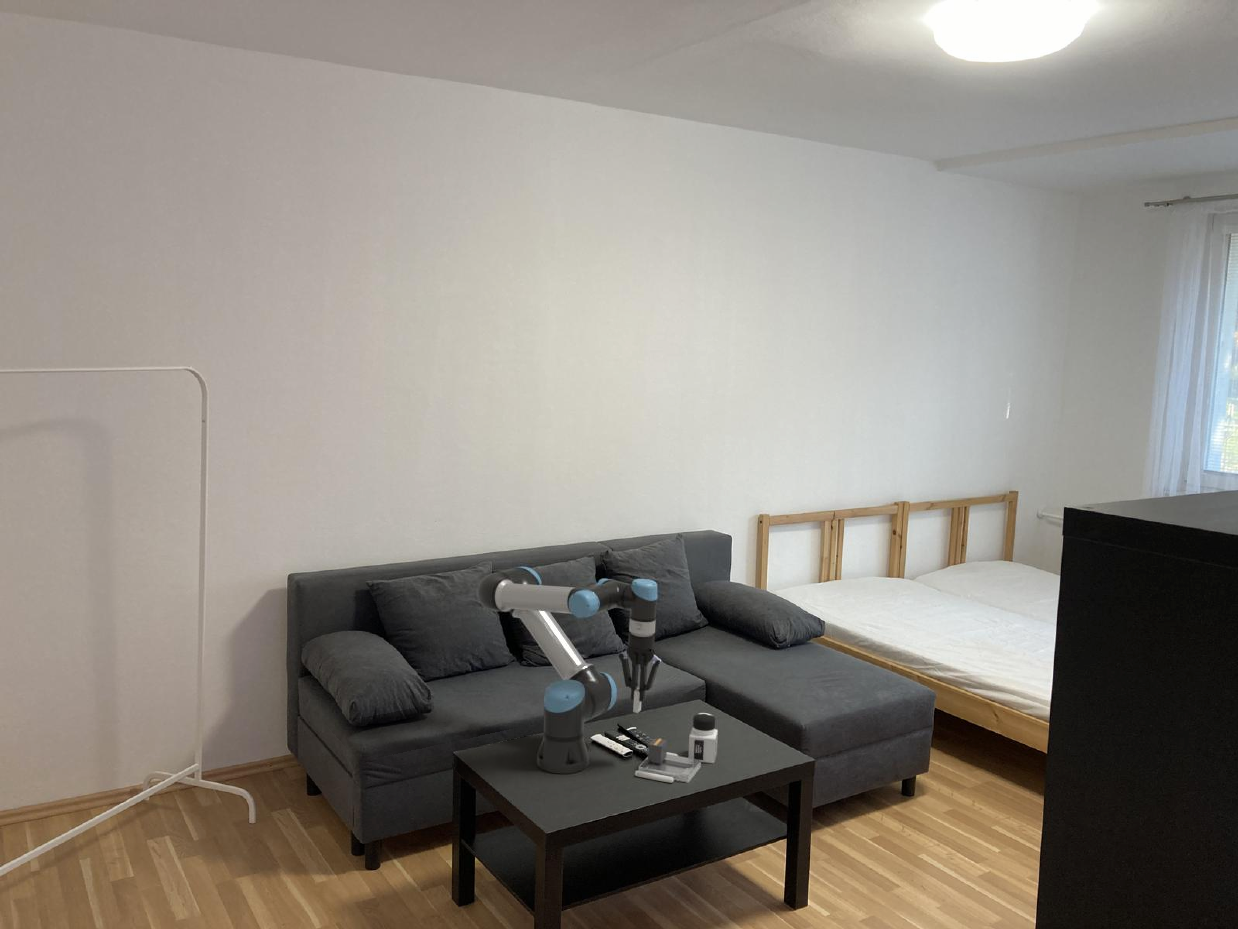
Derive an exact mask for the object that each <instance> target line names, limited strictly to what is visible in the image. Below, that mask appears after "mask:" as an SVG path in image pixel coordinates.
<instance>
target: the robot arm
mask: <svg viewBox="0 0 1238 929" xmlns="http://www.w3.org/2000/svg"><path fill="white" fill-rule="evenodd" d="M658 596H659V595H658V584H657V582H656V581H654V580H652V579H649V578H646V579H645V578H637V579H634V580H632V581H631V583H628V582H623V581H619V580H616V579H612V578H610V579H609V578H601V579H599V580H598V582H596V583H595V586H593V587H588V588H587V587H574V586H573V587H570V586H560V585H559V586H557V585H556V586H555V585H543V584H542V580H541V577H540V576H539V574H538V573H537V572H536V571H535V570H534V569H532V568H531V567H528V566H514V567H510V568H509V569H505V570H501V571H497V572H492V573H491V572H490V573H489V574H487V575H486V576H484V577H483V578H482V579H481V580H480V582H479V583H478V586H477V589H476V597H477V600H478V602H479V604H480V605H481V606H482V607H483V608H484V609H486V610H488V611H491V612H502V613H503V612H505V613H507V612H509V613H510V615H511V616H512V618H516V619H517V618H518V619H520V621H521V622H522V623H523V625H524V626H525V627H526V629H527V630H528V631H529V633H530V634H531V636H532V637H533V639H534V640H535V642H536V643H537V645H538V646H539V647H540V649H541V650H542V652H543V653H544V655H545V656H546V658H547V659H548V660H549V662H550V663H551V665H552V666H553V667H554V668H555V670H556V672H557V673H558V674H559V675H558V676H560V677H561V679H562V680H558V681H557V680H556V681H555V682H552V683H551V684H549V685H548V686H547V687H546V689H545V691H544V697H543V738H542V740H541V743H540V747H539V749H538V751H537V754H536V756H537V757H536V764H537V767H538V768H540V770H543V771H545V772H548V773H553V774H573V773H579V772H581V771H583V770H585V769H587V767H589V765H590V764H589V762H590V759H589V758H590V756H589V753H588V749H587V746H586V742H585V739H584V728H585V727H584V725H585V722H587V721H589V720H590V721H591V720H592V719H594V718H596V717H598V716H601V715H604V714H605V713H607V711H609V710H611V709H612V708H613V707H614V705H615V704H616V700H617V698H618V697H617V693H618V691H617V685H616V683H615V681H614V678H612V676H611V675H610V674H608V673H606V672H603V671H598V670H597V668H596V667H595V665H594V664H593V663H587V662H586V661H585V660H584V659H583V657H582V656H581V654H580V653H579V651H578V650H577V649H576V648H575V646H574V644H573V643H572V642H571V640H570V638H569V637H568V635H566V633H565V632H564V631H563V629H562V627H561V626H560V625H559V623H558V622H557V620H556V618H554V616H553V615H552V613H559V614H561V613H562V614H571V615H572V616H574V617H576V618H578V619H585V618H590V617H592V616H595V615H597V614H600V613H602V612H606V611H610V610H612V609H615V608H616V609H617V608H618V609H622V610H625V611H629V628H628V630H629V633H628V641H627V642H628V643H627V644H628V646H627V647H626V650H625V651H622V652H620V653H619V654H618V658H619V660H620V661H621V666H622V673H623V679H624V684H625V687H627V688H630V699H631V701H633V706H632V708H633V710H632V712H633V713H636V714H639V712H640V711H641V710H642V702H644V701H645V699H646V691H649V690H650V689H652V687H653V684H654V681H655V678H656V675H657V672H658V668H659V666H660V665H661V663H662V662H663V658H659V657H658V656H657V655H656V652H655V649H654V648H655V637H656V636H655V633H656V620H657V619H656V618H657V617H656V616H657V604H658ZM629 659H630V661H631V669H630V662H629ZM651 661H652V666H651V668H650V673H649V675H648V665H649V663H650V662H651ZM639 670H640V672H639ZM639 673H640V674H639ZM647 676H648V678H647Z"/></svg>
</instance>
